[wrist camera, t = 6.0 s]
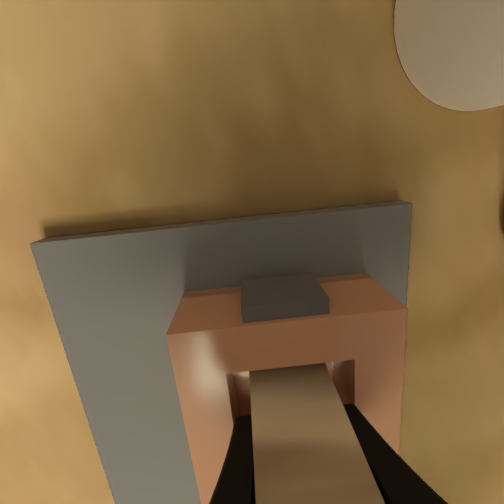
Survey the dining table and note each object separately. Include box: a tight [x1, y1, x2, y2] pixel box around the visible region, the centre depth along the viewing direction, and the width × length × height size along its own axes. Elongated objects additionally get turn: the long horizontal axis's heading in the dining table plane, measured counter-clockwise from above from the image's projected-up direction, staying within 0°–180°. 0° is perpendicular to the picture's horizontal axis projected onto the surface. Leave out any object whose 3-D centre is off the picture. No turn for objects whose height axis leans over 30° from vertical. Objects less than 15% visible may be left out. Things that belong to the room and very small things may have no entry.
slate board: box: [30, 201, 412, 504], centre depth 16 cm, size 22×16×1 cm
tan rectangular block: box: [249, 363, 385, 504], centre depth 9 cm, size 3×3×9 cm
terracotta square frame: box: [166, 273, 408, 504], centre depth 13 cm, size 9×8×3 cm
